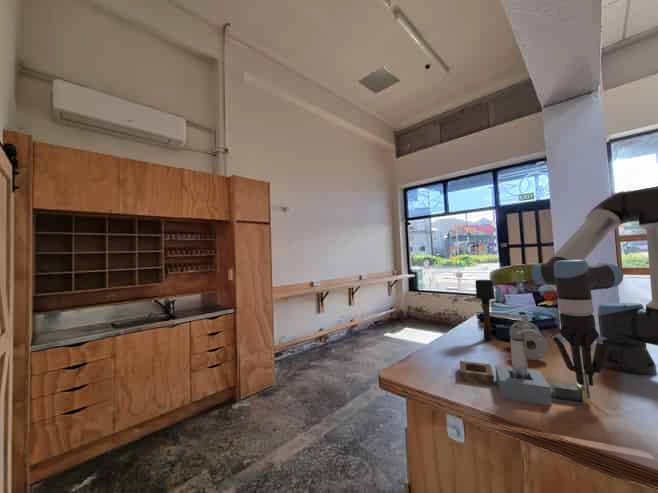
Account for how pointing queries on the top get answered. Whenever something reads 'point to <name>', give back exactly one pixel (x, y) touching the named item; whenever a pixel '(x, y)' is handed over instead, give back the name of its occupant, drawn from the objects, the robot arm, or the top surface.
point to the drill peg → (519, 355)
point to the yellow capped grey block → (569, 392)
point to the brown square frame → (476, 372)
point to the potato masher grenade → (485, 303)
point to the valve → (531, 338)
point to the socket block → (525, 387)
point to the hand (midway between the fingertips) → (586, 396)
